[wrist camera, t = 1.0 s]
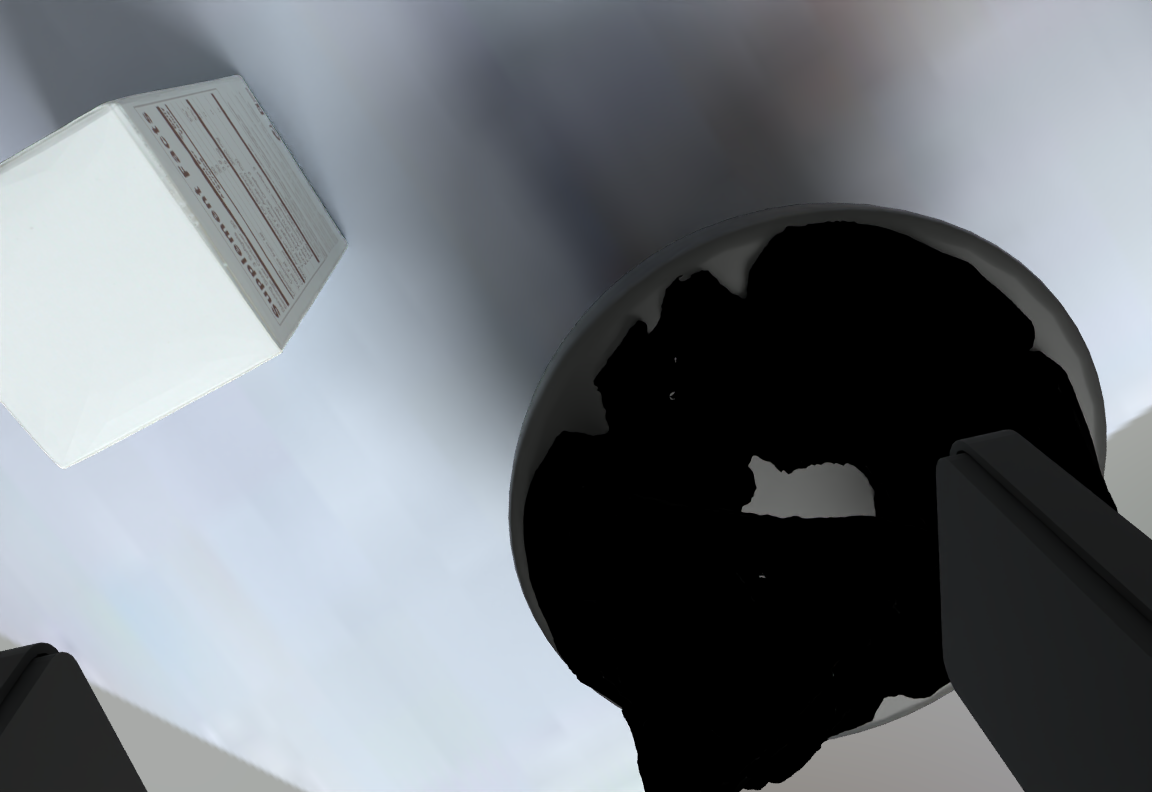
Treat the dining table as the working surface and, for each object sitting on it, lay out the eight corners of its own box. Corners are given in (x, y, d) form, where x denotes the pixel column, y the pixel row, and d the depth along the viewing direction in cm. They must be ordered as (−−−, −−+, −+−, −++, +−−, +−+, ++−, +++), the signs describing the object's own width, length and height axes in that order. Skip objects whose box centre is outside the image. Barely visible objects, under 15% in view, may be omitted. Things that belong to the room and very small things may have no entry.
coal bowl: (425, 277, 36) (359, 518, 18) (904, 76, 34) (1323, 132, 17) (605, 648, 43) (679, 1065, 26) (1002, 497, 42) (1360, 831, 25)
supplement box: (195, 332, 36) (51, 481, 24) (74, 162, 33) (-156, 238, 21) (356, 247, 35) (288, 359, 23) (246, 66, 32) (106, 91, 21)
